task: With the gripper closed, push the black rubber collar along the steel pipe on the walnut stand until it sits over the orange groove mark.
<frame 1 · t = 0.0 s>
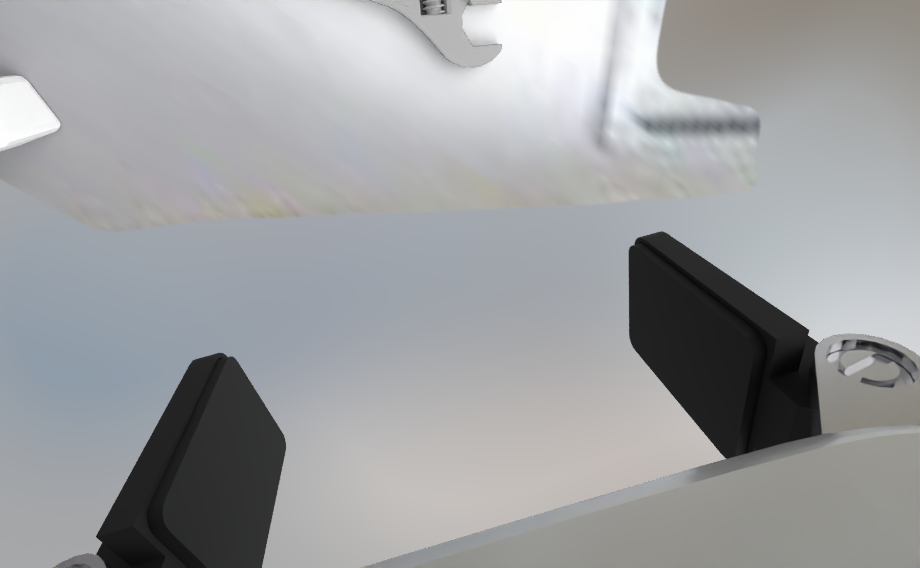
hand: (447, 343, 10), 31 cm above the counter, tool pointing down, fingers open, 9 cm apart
salt shaker: (24, 109, 32), on the counter
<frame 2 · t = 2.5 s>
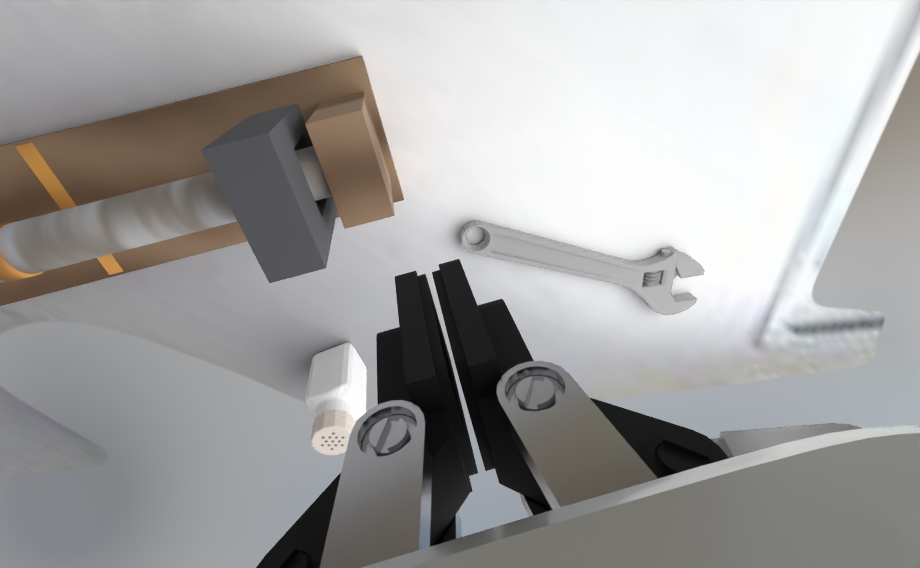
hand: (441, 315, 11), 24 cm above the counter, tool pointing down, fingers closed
pipe stand: (166, 187, 31), on the counter
collar: (284, 185, 25), point 8 cm above the counter, slide at 0.0 cm
adjustable wrench: (590, 252, 41), on the counter
salt shaker: (340, 359, 42), on the counter
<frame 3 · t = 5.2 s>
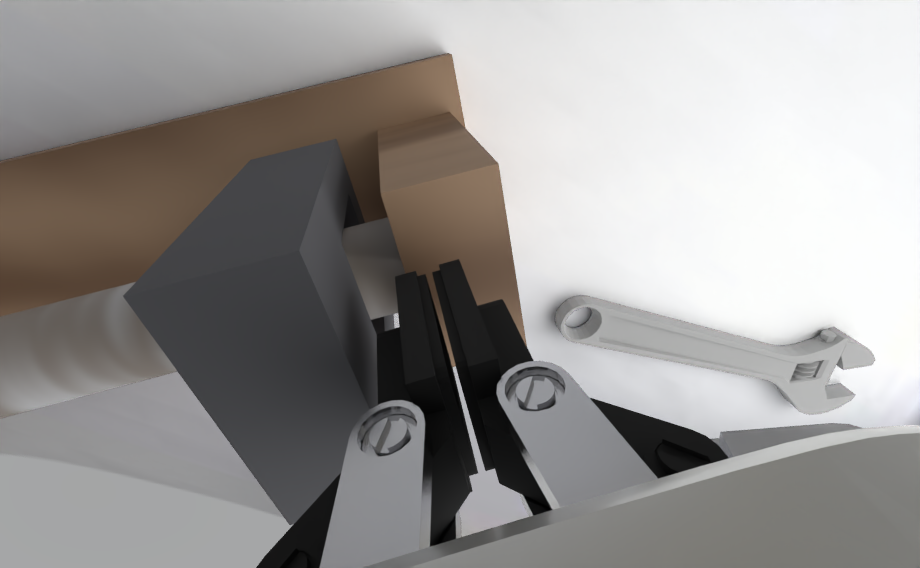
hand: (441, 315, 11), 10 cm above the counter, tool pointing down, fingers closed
pipe stand: (122, 262, 19), on the counter
collar: (316, 300, 13), point 8 cm above the counter, slide at 0.3 cm, touching gripper
adjustable wrench: (724, 334, 29), on the counter
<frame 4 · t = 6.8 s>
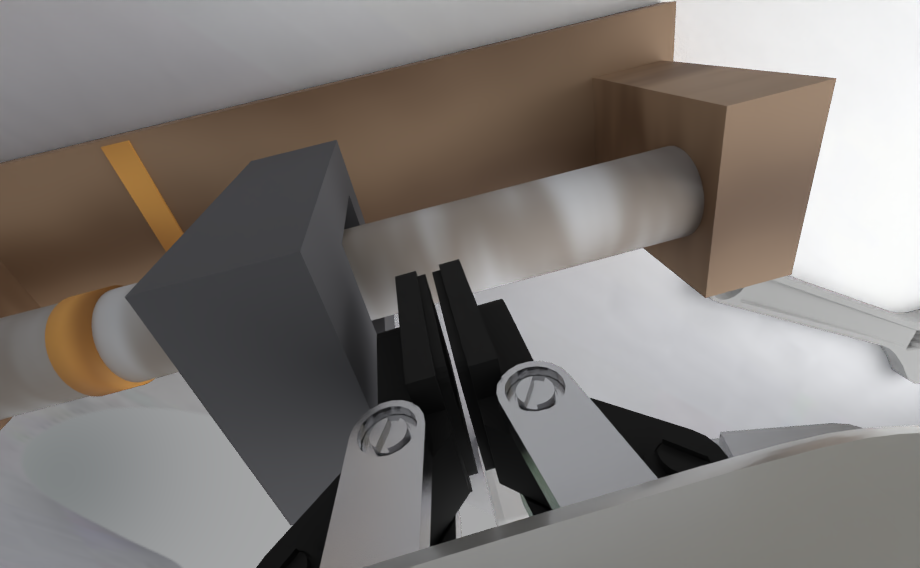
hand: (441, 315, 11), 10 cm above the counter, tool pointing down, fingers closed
pipe stand: (323, 212, 20), on the counter
collar: (317, 301, 13), point 8 cm above the counter, slide at 9.4 cm, touching gripper
adjustable wrench: (845, 301, 30), on the counter
salt shaker: (508, 442, 30), on the counter
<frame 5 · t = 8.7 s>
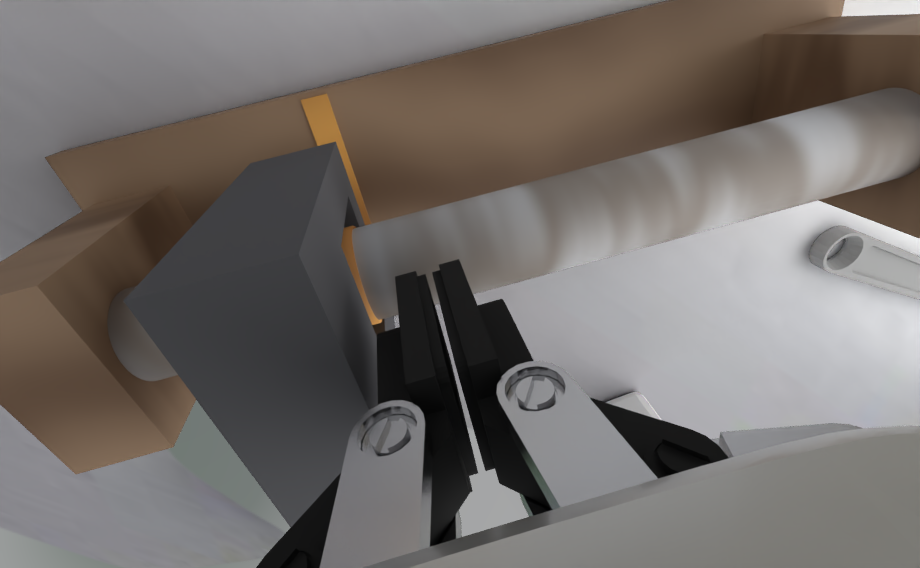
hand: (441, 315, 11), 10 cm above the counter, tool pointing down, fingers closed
pipe stand: (483, 171, 20), on the counter
collar: (317, 303, 13), point 8 cm above the counter, slide at 16.9 cm, touching gripper
salt shaker: (613, 412, 31), on the counter
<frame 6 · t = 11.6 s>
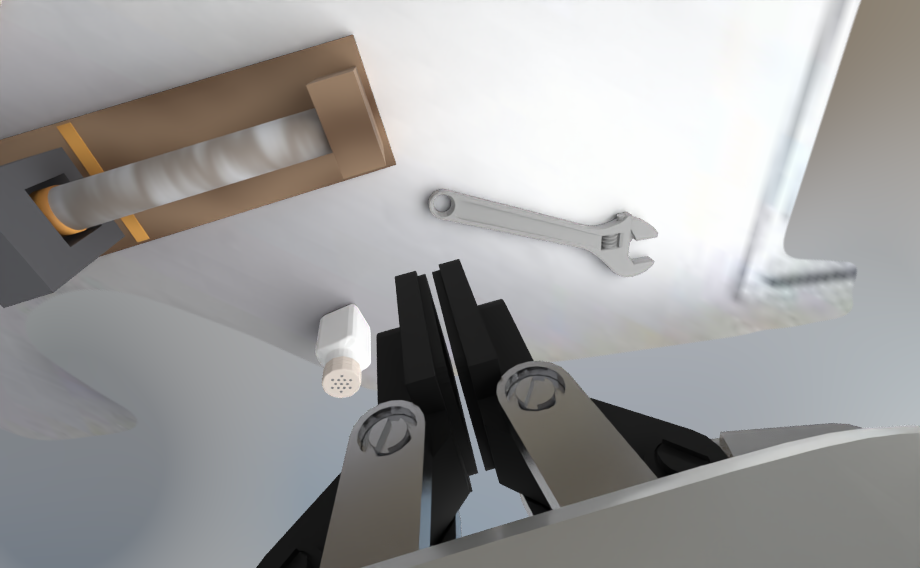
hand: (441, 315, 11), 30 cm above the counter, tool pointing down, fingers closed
pipe stand: (185, 160, 35), on the counter
collar: (34, 221, 28), point 8 cm above the counter, slide at 17.0 cm
adjustable wrench: (551, 219, 45), on the counter
salt shaker: (346, 321, 45), on the counter
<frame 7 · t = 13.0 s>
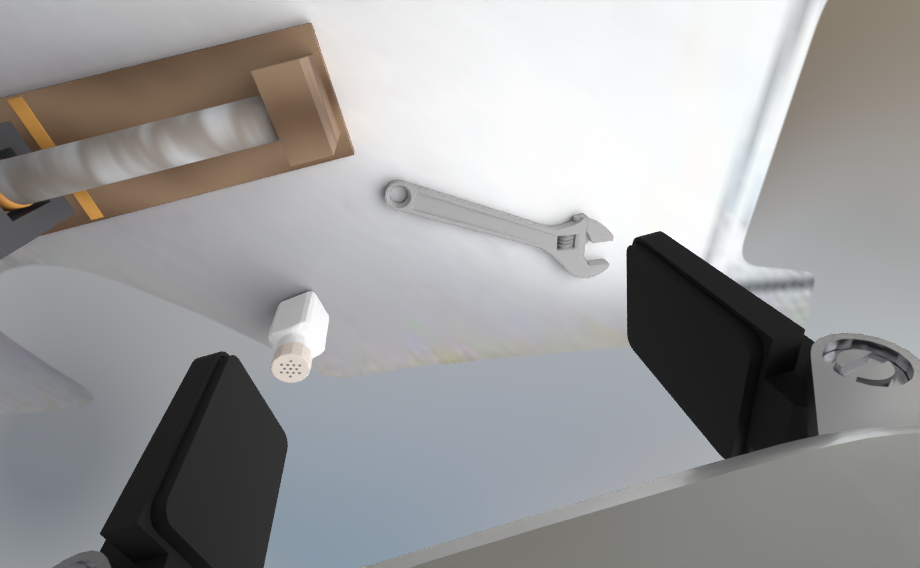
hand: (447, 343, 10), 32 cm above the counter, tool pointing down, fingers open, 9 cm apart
pipe stand: (141, 140, 36), on the counter
adjustable wrench: (509, 216, 45), on the counter
salt shaker: (305, 308, 46), on the counter
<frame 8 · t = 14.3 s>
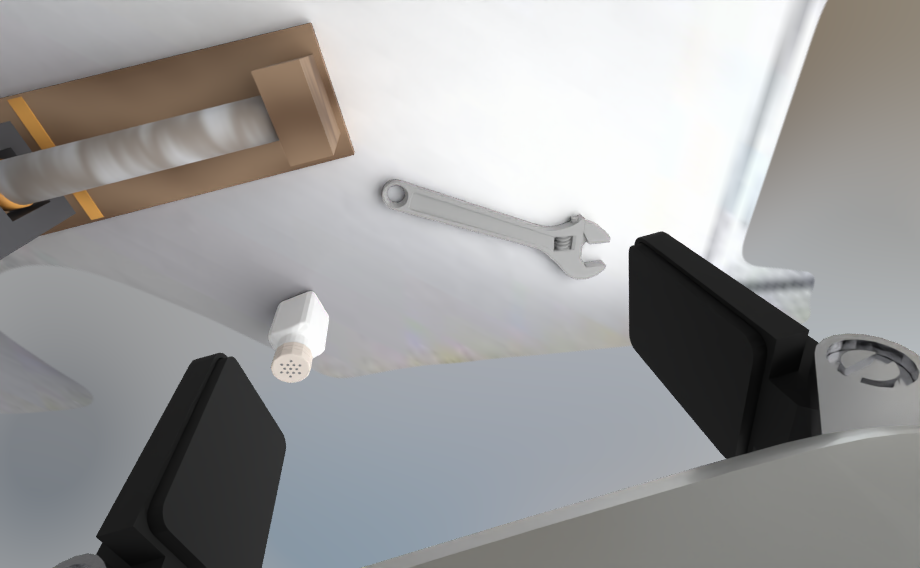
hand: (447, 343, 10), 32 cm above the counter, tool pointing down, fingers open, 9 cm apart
pipe stand: (141, 140, 36), on the counter
adjustable wrench: (506, 217, 45), on the counter
salt shaker: (305, 308, 46), on the counter
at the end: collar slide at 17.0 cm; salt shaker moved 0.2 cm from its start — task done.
